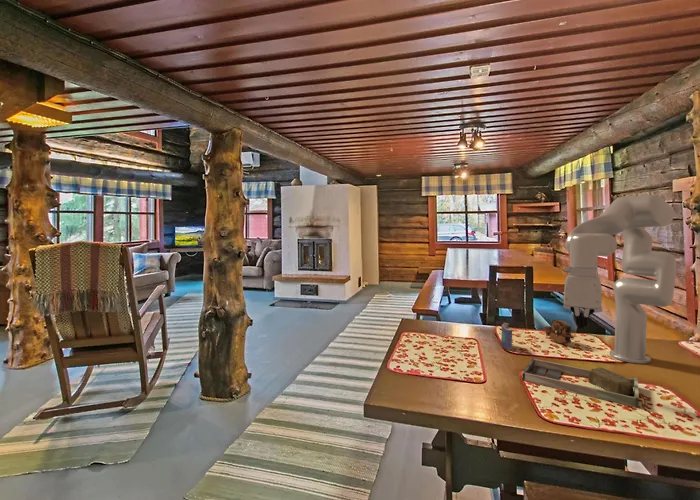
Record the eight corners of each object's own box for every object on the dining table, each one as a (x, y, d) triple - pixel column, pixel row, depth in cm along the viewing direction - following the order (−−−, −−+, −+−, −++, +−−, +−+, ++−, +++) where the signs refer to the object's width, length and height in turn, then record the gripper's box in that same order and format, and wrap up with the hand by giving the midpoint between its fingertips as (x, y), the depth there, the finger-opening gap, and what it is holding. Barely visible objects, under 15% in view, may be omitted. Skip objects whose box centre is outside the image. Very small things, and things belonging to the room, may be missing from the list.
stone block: (600, 380, 118) (601, 366, 117) (635, 396, 106) (636, 380, 106) (586, 382, 116) (587, 368, 116) (620, 398, 105) (621, 382, 105)
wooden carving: (540, 337, 164) (540, 316, 163) (549, 336, 164) (549, 315, 164) (568, 349, 147) (569, 325, 147) (577, 348, 148) (578, 325, 148)
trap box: (532, 364, 131) (532, 357, 131) (637, 387, 112) (637, 378, 112) (522, 379, 118) (522, 371, 118) (638, 407, 99) (638, 397, 99)
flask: (512, 350, 146) (513, 325, 145) (505, 350, 147) (505, 325, 146) (506, 343, 155) (506, 320, 155) (499, 343, 156) (499, 320, 155)
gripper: (554, 272, 114) (553, 326, 116) (611, 275, 105) (609, 334, 106) (558, 269, 120) (557, 321, 121) (612, 272, 111) (610, 328, 112)
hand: (581, 327), depth 114 cm, fingers closed
